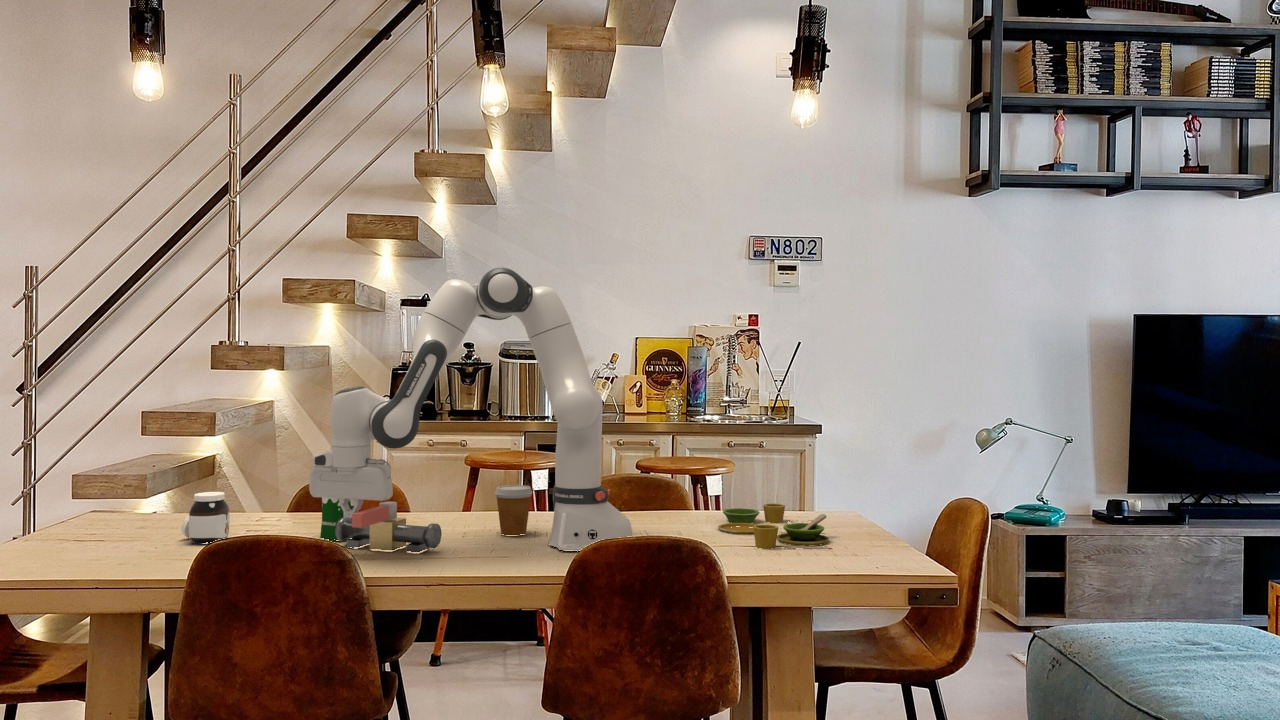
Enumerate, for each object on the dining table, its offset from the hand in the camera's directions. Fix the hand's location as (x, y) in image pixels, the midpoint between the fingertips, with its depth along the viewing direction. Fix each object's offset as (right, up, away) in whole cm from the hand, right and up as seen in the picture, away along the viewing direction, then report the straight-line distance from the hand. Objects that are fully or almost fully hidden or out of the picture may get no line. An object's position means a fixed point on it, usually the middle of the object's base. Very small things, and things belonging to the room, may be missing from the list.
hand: (351, 518), depth 218 cm
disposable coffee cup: (+34, -8, +25) cm, 43 cm away
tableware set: (+100, -9, +28) cm, 104 cm away
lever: (+5, -1, +1) cm, 5 cm away
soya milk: (-8, -8, +18) cm, 22 cm away
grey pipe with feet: (+7, -8, +6) cm, 12 cm away
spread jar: (-41, -8, +15) cm, 44 cm away
